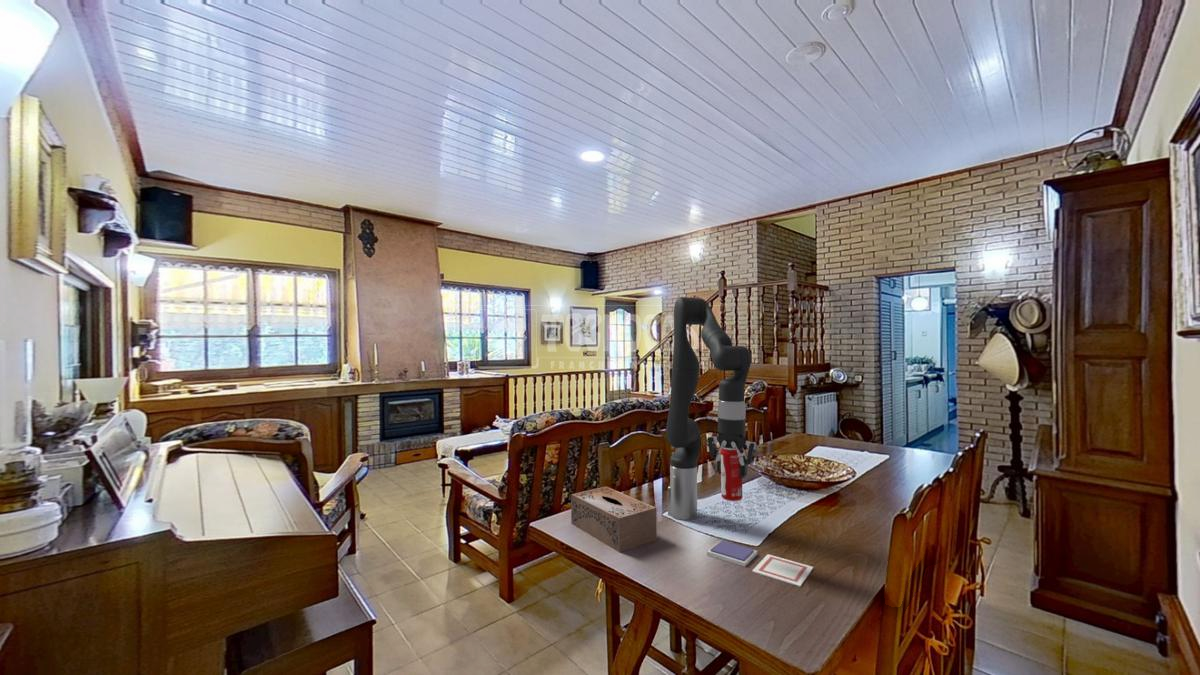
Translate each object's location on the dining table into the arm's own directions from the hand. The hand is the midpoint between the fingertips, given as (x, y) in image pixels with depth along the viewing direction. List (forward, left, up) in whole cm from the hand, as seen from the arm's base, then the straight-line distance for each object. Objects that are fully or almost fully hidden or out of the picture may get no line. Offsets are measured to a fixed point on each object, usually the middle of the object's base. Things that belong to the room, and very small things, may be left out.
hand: (731, 475), depth 131 cm
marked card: (+14, 0, -22) cm, 26 cm away
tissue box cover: (-36, -8, -23) cm, 44 cm away
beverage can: (0, 0, -7) cm, 7 cm away
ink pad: (0, 0, -22) cm, 22 cm away
